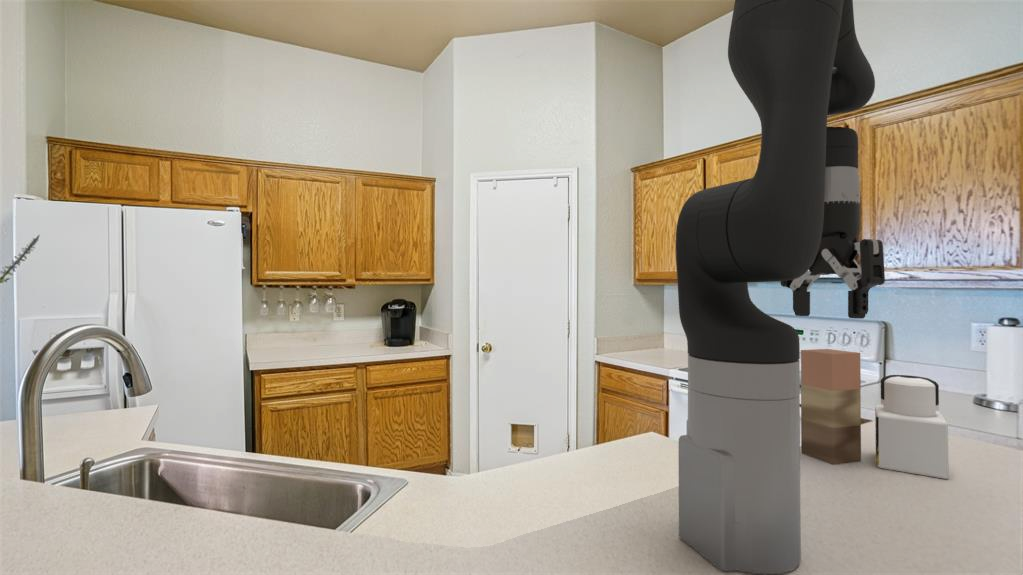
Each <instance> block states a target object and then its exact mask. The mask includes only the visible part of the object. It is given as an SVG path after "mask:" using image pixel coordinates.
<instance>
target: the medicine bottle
mask: <svg viewBox="0 0 1023 575" xmlns="http://www.w3.org/2000/svg"><path fill="white" fill-rule="evenodd" d="M939 387H940V386H939V384H938V382H936V381H935V380H933V379H930V378H928V377H924V376H919V375H917V376H916V375H906V374H890V375H886V376H884V377H882V378H881V379H880V404H877V405H876V406H875V408H874V410H875V416H874V417H875V419H874V420H875V456H876V457H875V459H876V467H878V468H879V469H885V470H890V471H897V472H901V473H908V474H914V475H920V476H925V477H931V478H938V479H944V480H947V479H949V474H950V473H949V471H950V470H949V468H950V467H949V466H950V465H949V464H950V463H949V424H948V422H947V421H946V419H945V417H944V416H943V415H942V413H941V412H940V407H939V406H940V400H939V399H940V396H939V395H940V394H939V393H940V392H939V391H940V389H939Z"/></svg>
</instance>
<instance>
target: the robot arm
mask: <svg viewBox="0 0 1023 575" xmlns="http://www.w3.org/2000/svg"><path fill="white" fill-rule="evenodd" d="M854 14H855V13H854V2H853V0H734V4H733V12H732V17H731V21H730V22H731V23H730V28H729V37H728V42H727V44H728V45H727V59H728V63H729V66H730V70H731V72H732V75H733V77H734V78H735V80H736V82H737V83H738V85H739V87H740V88H741V90H742V92H743V93H744V94H745V95H746V97H747V99H748V100H749V101H750V103H751V105H752V106H753V108H754V110H755V111H756V113H757V115H758V118H759V120H760V127H761V131H760V133H761V137H760V138H761V139H760V140H761V141H760V150H759V151H760V152H759V159H758V164H757V168H756V171H755V173H754V176H753V177H752V178H747V179H743V180H737V181H733V182H729V183H725V184H720V185H718V186H713V187H709V188H704V189H702V190H699V191H696V192H694V193H693V194H691V196H690V197H688V198H687V199H686V200H685V202H684V204H683V205H682V206H681V210H680V212H679V215H678V219H677V221H676V222H677V224H676V230H675V231H676V232H675V262H676V264H675V265H676V280H677V295H678V296H677V297H678V300H677V301H678V315H679V319H680V323H681V327H682V329H683V331H684V335H685V338H686V342H687V434H682V435H680V436H679V438H678V537H679V538H680V539H681V540H683V541H684V542H685V543H686V544H688V545H689V546H690V547H691V548H693V549H694V550H695V551H697V552H698V553H699V554H701V556H703V557H704V558H706V559H707V560H708V561H709V562H710V563H711V564H713V565H714V566H715V567H717V569H719V570H721V571H723V572H728V571H734V570H735V571H742V572H746V573H752V574H761V575H775V574H778V575H779V574H782V573H783V574H784V573H787V572H790V571H792V570H795V569H796V568H797V567H798V566H799V565H800V563H801V560H802V559H801V558H802V555H801V554H802V550H801V549H802V546H801V542H802V539H801V531H802V530H801V522H802V521H801V520H802V519H801V514H802V513H801V350H800V337H799V332H798V331H797V330H796V329H795V327H793V326H792V325H790V324H788V323H785V322H783V321H781V320H780V319H779V320H778V319H776V318H774V317H773V316H770V315H769V314H767V313H765V312H764V311H762V310H761V309H760V308H758V307H757V306H756V305H755V303H754V302H753V301H752V300H751V297H750V292H749V287H748V286H749V285H748V283H766V282H767V283H768V282H769V283H771V282H780V286H781V287H785V288H788V289H790V290H791V291H792V310H793V313H794V315H795V316H796V317H809V316H810V314H811V291H809V289H810V288H811V286H812V285H813V283H814V282H815V281H816V280H818V279H819V278H820V277H821V276H828V275H837V277H839V278H840V279H842V280H843V281H844V282H845V284H846V285H847V286H848V288H849V289H850V290H848V291H847V316H848V318H849V319H857V320H858V319H865V317H866V315H867V314H868V312H869V292H870V290H871V289H872V288H874V287H876V286H877V287H878V286H882V285H884V284H885V281H886V278H885V277H886V275H885V260H884V259H885V258H884V244H883V241H882V240H880V239H870V238H863V239H861V240H860V241H859V240H858V235H860V233H861V180H860V176H859V136H858V133H857V131H856V130H855V129H854V128H850V127H847V126H828V117H829V116H833V115H839V114H844V113H849V112H854V111H857V110H860V109H862V108H864V107H865V106H866V105H867V103H868V102H870V100H871V99H872V96H874V92H875V89H876V78H875V74H874V71H873V69H872V67H871V64H870V62H869V60H868V59H867V56H866V55H865V54H864V52H863V50H862V48H861V45H860V42H859V40H858V37H857V34H856V27H855V25H856V24H855V16H854ZM858 255H859V256H860V264H859V263H858V262H857V260H856V257H857V256H858Z"/></svg>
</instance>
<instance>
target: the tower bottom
mask: <svg viewBox="0 0 1023 575" xmlns="http://www.w3.org/2000/svg"><path fill="white" fill-rule="evenodd" d="M861 427H862V424H861V425H859V426H848V427H838V428H831V427H828V426H824V425H821V424H817V423H814V422H810V421H807V420H804V419H801V418H800V454H803V455H806V456H808V457H810V458H813V459H816V460H818V461H821V462H824V463H827V464H829V465H831V466H835V465H836V466H837V465H843V464H852V463H860V462H861V463H862V428H861Z"/></svg>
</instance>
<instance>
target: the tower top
mask: <svg viewBox="0 0 1023 575" xmlns="http://www.w3.org/2000/svg"><path fill="white" fill-rule="evenodd" d="M861 397H862V396H861V389H854V390H840V391H830V390H825V389H821V388H816V387H811V386H806V385H802V384H801V383H800V420H801V419H804V420H807V421H810V422H814V423H817V424H821V425H824V426H828V427H831V428H838V427H848V426H859V425H861V426H862V420H861V419H862V418H861V417H862V416H861V415H862V414H861V413H862V411H861V410H862V409H861V401H862V400H861V399H862V398H861Z"/></svg>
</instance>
